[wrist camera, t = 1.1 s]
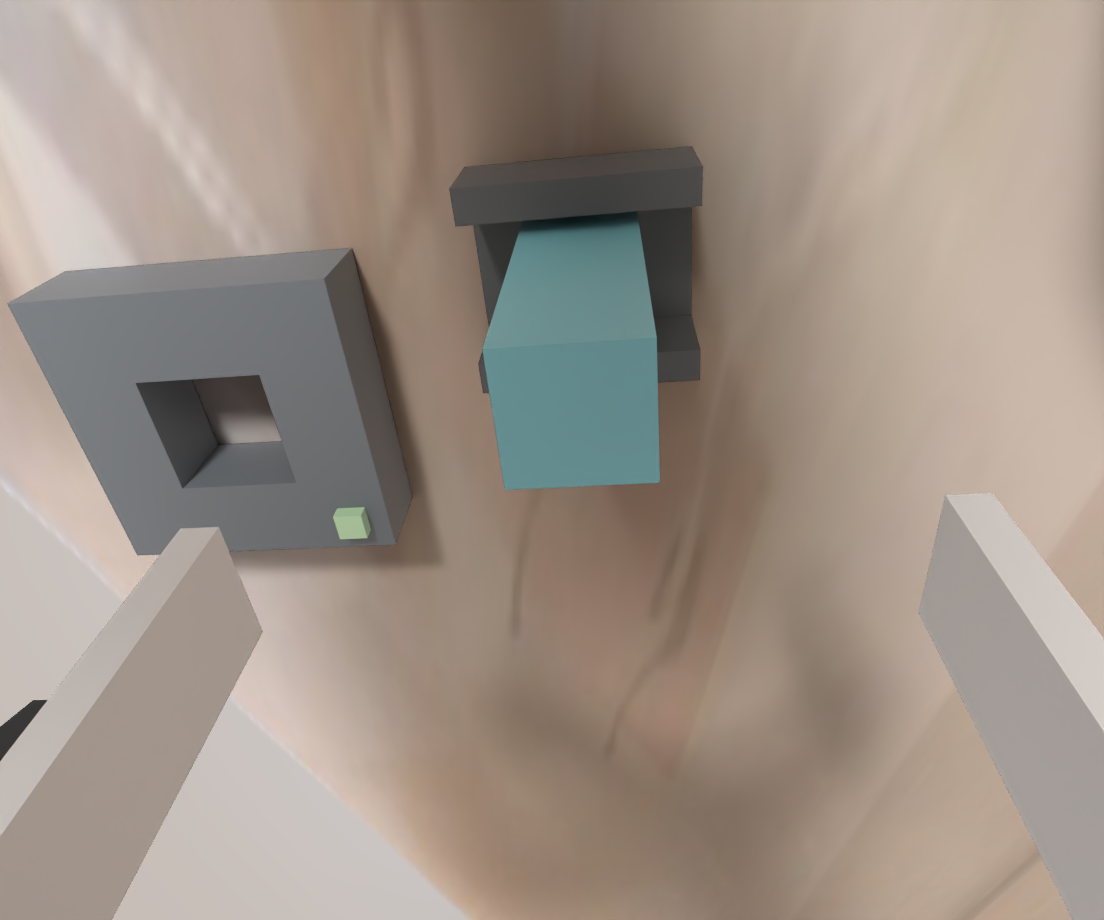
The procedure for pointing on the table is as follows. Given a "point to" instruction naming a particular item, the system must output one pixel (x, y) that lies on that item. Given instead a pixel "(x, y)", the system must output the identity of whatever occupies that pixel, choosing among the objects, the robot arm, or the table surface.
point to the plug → (575, 357)
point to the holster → (591, 189)
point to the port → (213, 352)
